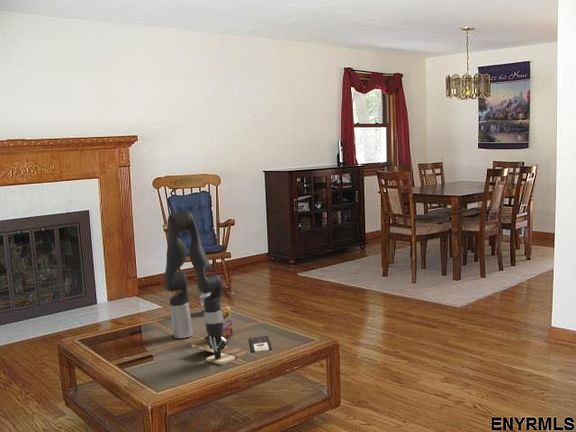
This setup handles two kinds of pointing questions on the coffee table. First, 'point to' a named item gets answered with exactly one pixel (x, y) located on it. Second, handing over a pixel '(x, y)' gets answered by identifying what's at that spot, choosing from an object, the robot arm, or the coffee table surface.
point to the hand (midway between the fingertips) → (218, 358)
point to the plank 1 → (202, 348)
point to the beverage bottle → (202, 297)
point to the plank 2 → (221, 359)
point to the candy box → (226, 322)
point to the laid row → (232, 351)
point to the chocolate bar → (260, 344)
